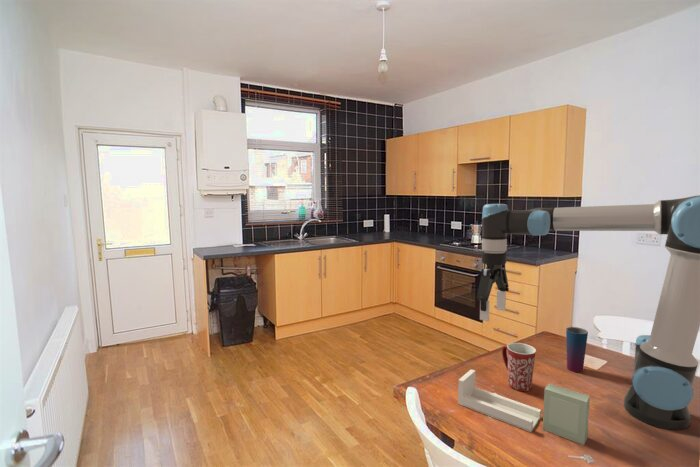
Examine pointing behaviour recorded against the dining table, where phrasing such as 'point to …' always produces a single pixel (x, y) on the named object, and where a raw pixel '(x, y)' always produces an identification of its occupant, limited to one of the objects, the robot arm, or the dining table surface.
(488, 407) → the track
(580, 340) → the cup
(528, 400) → the dining table surface
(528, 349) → the mug
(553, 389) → the door panel
